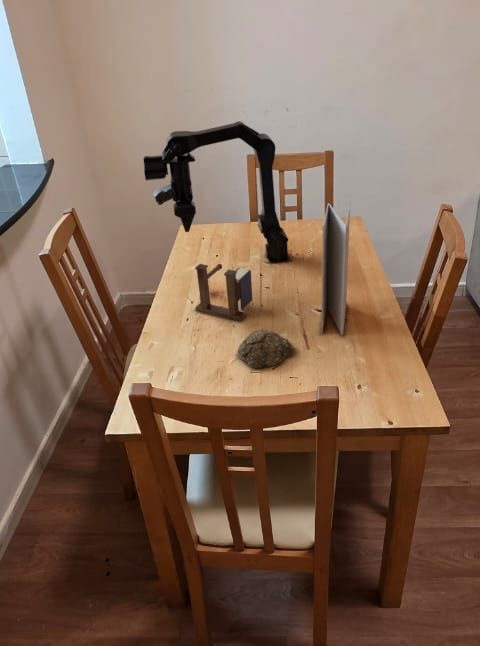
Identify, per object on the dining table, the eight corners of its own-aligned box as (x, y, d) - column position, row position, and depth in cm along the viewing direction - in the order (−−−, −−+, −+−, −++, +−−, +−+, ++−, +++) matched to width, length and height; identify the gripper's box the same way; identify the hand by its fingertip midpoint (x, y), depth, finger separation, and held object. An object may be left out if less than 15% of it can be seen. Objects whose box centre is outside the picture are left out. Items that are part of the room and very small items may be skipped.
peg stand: (216, 292, 165) (212, 250, 158) (258, 301, 159) (255, 258, 152) (196, 310, 157) (190, 267, 150) (239, 321, 151) (235, 276, 144)
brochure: (342, 335, 142) (347, 226, 127) (321, 333, 143) (322, 225, 128) (345, 306, 154) (350, 203, 139) (325, 305, 155) (327, 203, 140)
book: (240, 297, 158) (238, 267, 153) (252, 300, 157) (250, 270, 152) (230, 307, 154) (227, 277, 149) (242, 310, 152) (240, 280, 147)
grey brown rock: (259, 333, 145) (258, 317, 143) (298, 349, 138) (298, 332, 136) (227, 357, 137) (225, 340, 134) (267, 375, 130) (266, 358, 127)
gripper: (153, 169, 171) (159, 217, 179) (153, 190, 155) (160, 241, 163) (189, 166, 172) (194, 213, 180) (193, 186, 156) (198, 237, 164)
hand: (186, 226), depth 172 cm, fingers open, 9 cm apart
